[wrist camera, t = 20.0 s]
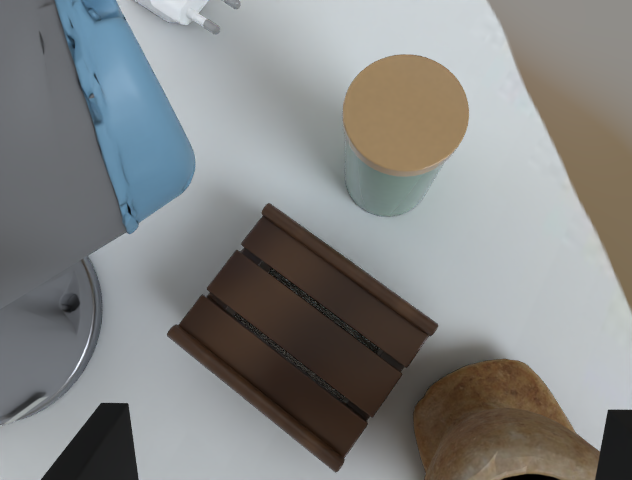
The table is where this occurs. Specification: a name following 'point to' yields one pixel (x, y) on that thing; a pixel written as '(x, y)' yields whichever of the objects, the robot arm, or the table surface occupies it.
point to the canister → (400, 131)
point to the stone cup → (498, 428)
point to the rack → (303, 335)
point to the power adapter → (184, 11)
